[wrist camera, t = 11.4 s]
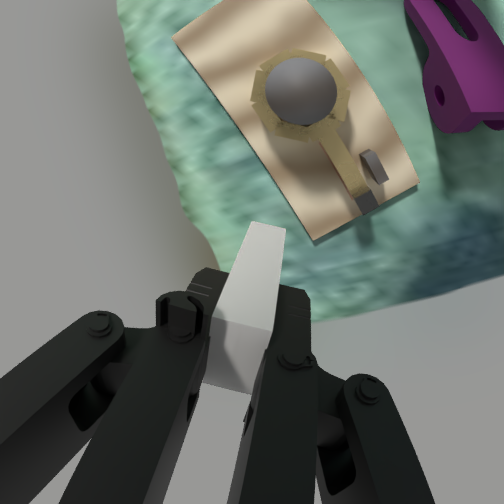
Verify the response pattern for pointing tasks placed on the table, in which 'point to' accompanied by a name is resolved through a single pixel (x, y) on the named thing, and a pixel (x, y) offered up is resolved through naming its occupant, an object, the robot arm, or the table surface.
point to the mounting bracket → (460, 66)
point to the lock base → (285, 157)
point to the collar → (316, 124)
